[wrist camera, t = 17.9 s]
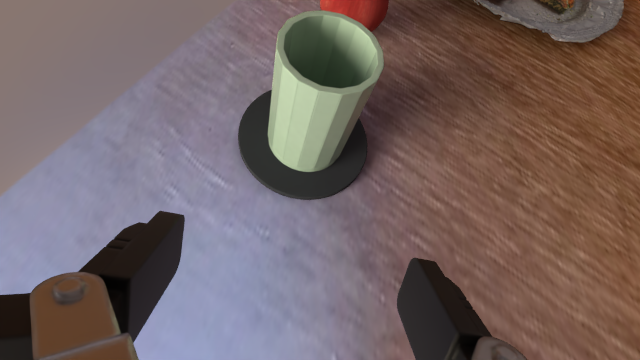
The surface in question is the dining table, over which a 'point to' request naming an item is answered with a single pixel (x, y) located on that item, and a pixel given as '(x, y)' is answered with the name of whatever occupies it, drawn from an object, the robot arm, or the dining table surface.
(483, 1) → the food plate
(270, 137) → the cup
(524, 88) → the dining table surface
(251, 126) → the coaster
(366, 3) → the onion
